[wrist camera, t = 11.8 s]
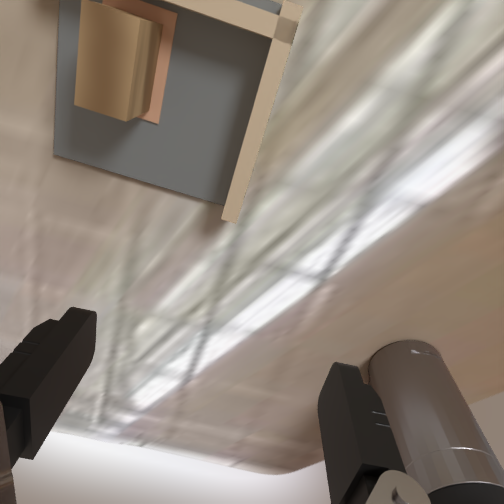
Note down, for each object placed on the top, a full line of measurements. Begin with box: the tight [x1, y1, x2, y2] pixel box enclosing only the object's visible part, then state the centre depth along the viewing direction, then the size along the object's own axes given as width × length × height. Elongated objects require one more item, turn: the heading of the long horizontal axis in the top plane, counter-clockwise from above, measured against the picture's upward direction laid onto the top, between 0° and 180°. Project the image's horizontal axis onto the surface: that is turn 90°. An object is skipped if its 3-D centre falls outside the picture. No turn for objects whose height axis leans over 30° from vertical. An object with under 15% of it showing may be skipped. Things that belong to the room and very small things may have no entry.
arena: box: [54, 0, 303, 224], centre depth 32 cm, size 18×19×4 cm
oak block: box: [74, 0, 163, 122], centre depth 29 cm, size 4×7×6 cm, turn 163°
